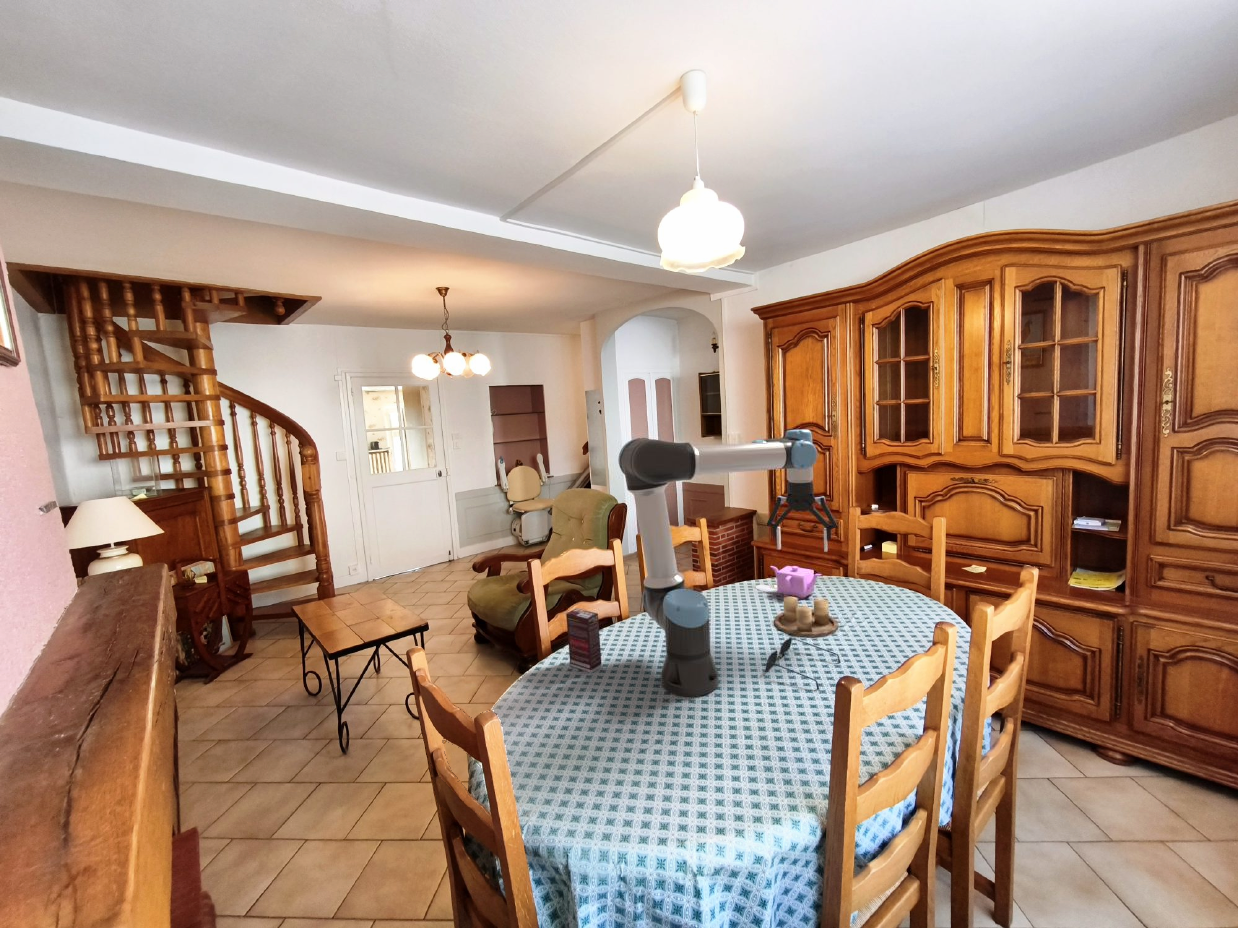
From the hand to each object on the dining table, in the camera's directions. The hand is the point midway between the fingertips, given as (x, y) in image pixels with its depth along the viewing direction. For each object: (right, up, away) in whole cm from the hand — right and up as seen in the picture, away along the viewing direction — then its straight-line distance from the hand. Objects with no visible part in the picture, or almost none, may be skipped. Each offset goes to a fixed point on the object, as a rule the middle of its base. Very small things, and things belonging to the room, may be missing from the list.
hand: (802, 549), depth 162 cm
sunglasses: (-6, -30, -19) cm, 36 cm away
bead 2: (+2, -26, +3) cm, 26 cm away
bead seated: (+9, -25, +8) cm, 27 cm away
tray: (+4, -26, +7) cm, 27 cm away
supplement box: (-66, -32, -10) cm, 74 cm away
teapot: (+10, -23, +35) cm, 43 cm away
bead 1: (0, -25, +12) cm, 28 cm away
